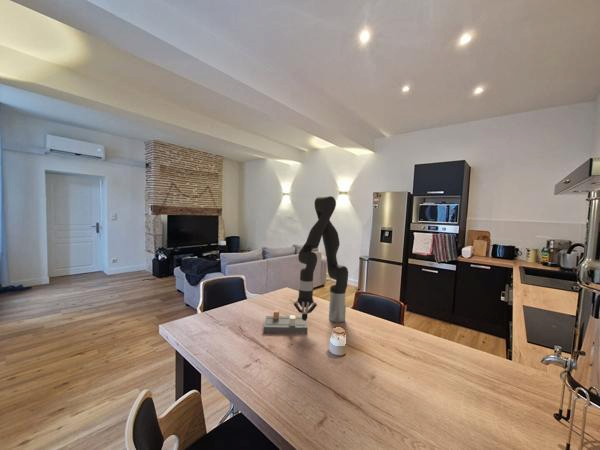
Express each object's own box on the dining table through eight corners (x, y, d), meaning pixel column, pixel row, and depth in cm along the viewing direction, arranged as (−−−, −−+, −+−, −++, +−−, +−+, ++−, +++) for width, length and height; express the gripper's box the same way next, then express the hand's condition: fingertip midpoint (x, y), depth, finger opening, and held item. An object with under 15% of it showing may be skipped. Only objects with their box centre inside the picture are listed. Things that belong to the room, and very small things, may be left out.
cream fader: (295, 322, 137) (295, 315, 137) (295, 326, 132) (295, 318, 132) (289, 322, 137) (289, 315, 136) (289, 325, 132) (289, 318, 132)
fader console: (305, 321, 146) (305, 316, 146) (307, 333, 132) (307, 327, 132) (265, 320, 145) (266, 315, 145) (263, 332, 131) (263, 326, 131)
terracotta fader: (279, 316, 144) (279, 309, 144) (278, 319, 140) (279, 312, 140) (273, 315, 144) (274, 309, 144) (273, 319, 140) (273, 312, 140)
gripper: (317, 286, 138) (315, 317, 139) (293, 285, 137) (292, 316, 138) (319, 290, 130) (317, 323, 131) (293, 289, 130) (292, 322, 130)
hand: (304, 320), depth 135 cm, fingers closed
